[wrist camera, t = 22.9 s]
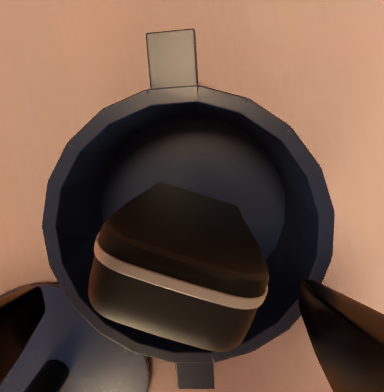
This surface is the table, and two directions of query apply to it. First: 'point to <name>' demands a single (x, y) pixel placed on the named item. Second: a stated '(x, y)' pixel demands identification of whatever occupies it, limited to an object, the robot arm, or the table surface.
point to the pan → (195, 182)
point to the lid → (73, 354)
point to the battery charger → (179, 269)
